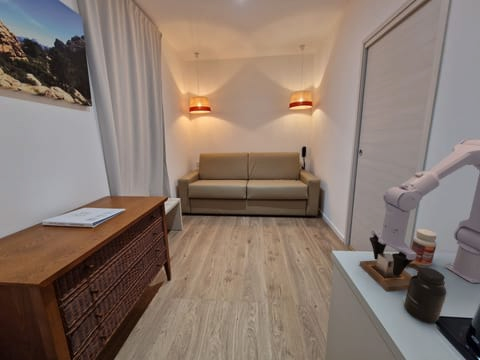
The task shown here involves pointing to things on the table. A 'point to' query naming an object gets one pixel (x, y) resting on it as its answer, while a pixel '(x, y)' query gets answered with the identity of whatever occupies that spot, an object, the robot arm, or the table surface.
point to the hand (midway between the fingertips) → (386, 266)
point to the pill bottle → (424, 246)
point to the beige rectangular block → (385, 265)
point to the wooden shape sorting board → (390, 283)
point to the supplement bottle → (426, 295)
